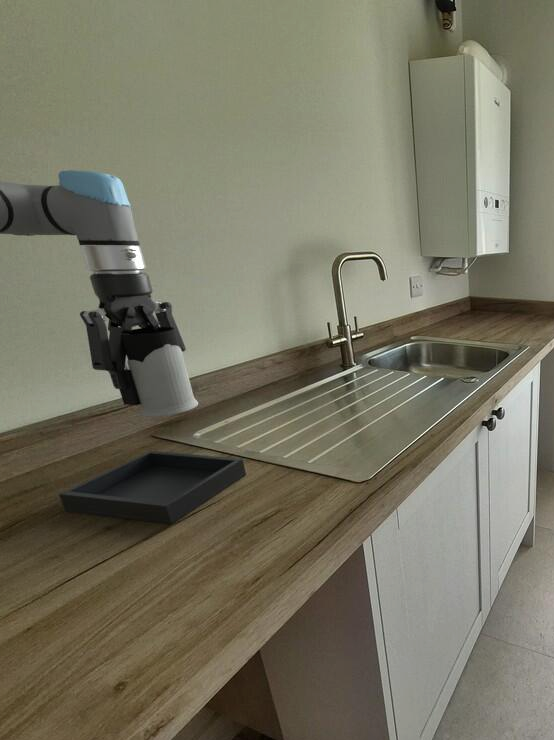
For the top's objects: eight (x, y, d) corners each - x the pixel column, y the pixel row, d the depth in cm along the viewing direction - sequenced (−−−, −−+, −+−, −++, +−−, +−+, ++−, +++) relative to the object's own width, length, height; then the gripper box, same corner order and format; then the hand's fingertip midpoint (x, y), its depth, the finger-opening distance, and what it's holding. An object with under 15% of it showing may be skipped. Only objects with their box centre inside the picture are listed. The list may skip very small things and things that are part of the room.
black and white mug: (162, 419, 73) (137, 337, 68) (107, 410, 77) (81, 331, 72) (209, 402, 81) (190, 327, 76) (157, 395, 85) (136, 323, 80)
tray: (65, 511, 61) (58, 493, 60) (155, 465, 73) (150, 450, 72) (171, 524, 58) (165, 506, 57) (246, 474, 70) (242, 458, 69)
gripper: (66, 276, 60) (113, 418, 67) (190, 269, 79) (217, 381, 87) (25, 275, 61) (76, 415, 69) (158, 269, 80) (186, 379, 88)
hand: (154, 396), depth 78 cm, fingers closed on black and white mug, 7 cm apart
